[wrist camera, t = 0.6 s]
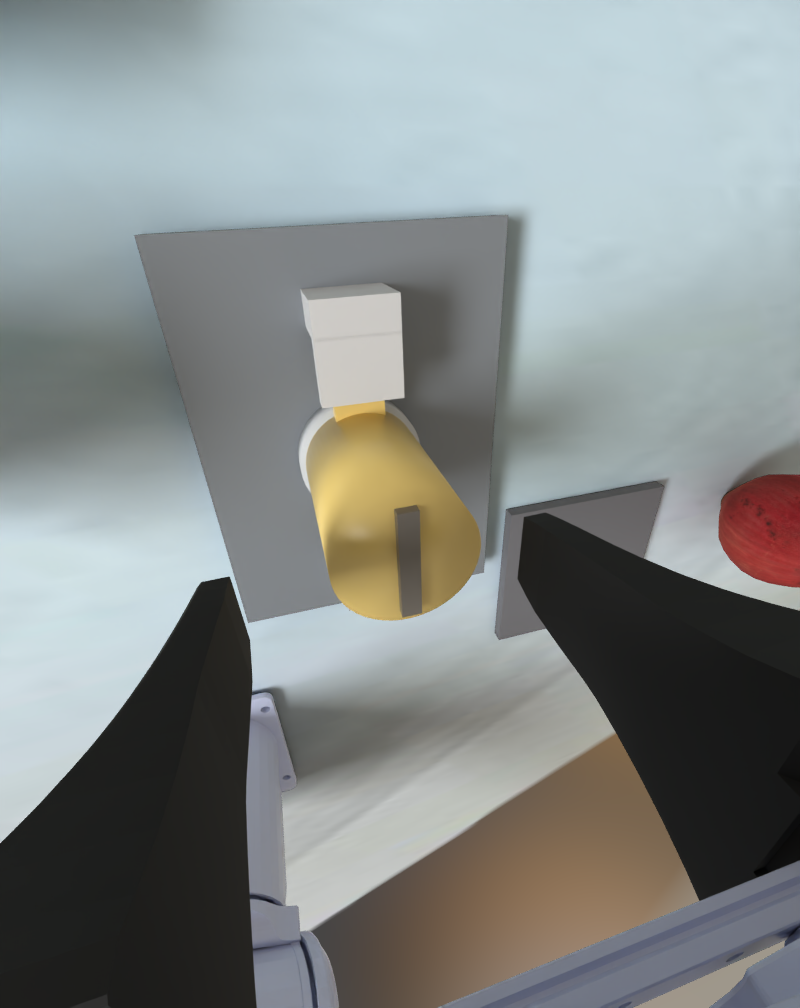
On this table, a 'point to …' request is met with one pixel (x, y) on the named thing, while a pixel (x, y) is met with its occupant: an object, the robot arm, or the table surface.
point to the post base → (281, 376)
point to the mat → (602, 514)
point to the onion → (764, 528)
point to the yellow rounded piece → (387, 516)
